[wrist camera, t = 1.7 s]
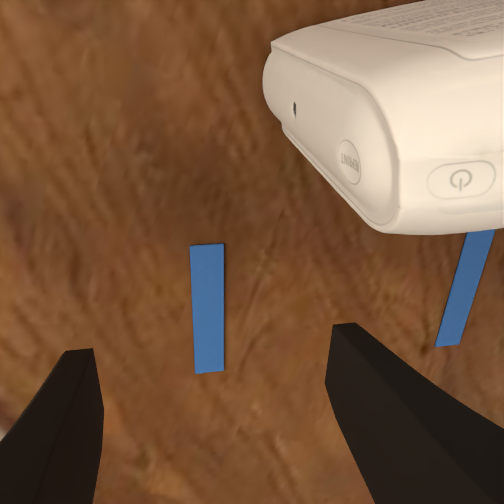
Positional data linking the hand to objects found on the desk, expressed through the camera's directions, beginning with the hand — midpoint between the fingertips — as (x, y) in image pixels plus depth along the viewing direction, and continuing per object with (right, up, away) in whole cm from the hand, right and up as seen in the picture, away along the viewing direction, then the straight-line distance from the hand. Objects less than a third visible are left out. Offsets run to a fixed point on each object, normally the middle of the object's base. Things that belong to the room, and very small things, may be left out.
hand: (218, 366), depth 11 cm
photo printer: (+6, +11, +8) cm, 15 cm away
